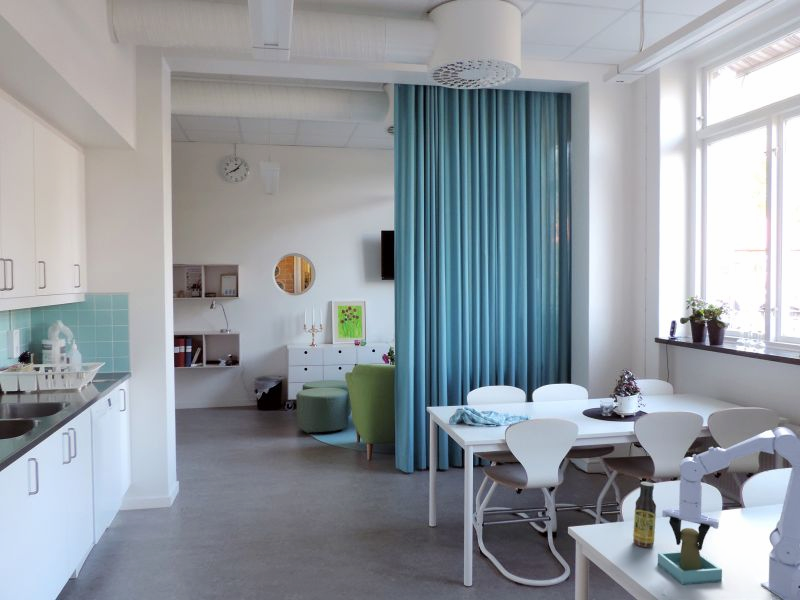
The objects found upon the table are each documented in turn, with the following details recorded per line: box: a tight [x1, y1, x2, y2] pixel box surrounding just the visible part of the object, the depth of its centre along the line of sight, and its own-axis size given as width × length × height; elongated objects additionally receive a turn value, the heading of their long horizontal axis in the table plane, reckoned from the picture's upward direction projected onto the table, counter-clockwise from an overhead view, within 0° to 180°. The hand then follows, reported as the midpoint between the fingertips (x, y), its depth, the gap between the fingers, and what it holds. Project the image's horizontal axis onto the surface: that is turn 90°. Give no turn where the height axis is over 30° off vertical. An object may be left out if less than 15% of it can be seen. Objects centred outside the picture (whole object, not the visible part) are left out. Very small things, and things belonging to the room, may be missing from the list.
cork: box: [679, 527, 702, 571], centre depth 173 cm, size 6×6×11 cm
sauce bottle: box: [632, 481, 657, 549], centre depth 190 cm, size 7×6×20 cm
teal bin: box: [657, 550, 723, 586], centre depth 172 cm, size 12×12×4 cm
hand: (689, 546), depth 172 cm, fingers closed on cork, 5 cm apart
